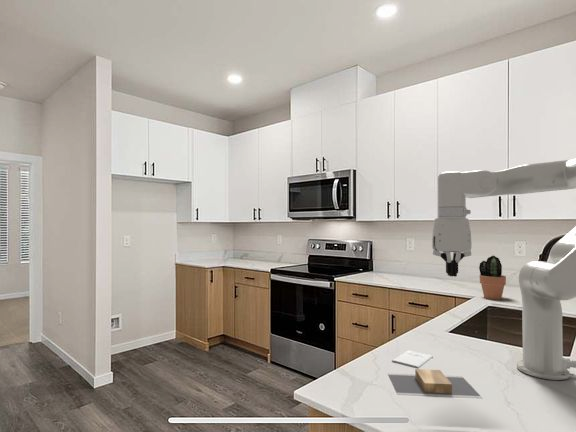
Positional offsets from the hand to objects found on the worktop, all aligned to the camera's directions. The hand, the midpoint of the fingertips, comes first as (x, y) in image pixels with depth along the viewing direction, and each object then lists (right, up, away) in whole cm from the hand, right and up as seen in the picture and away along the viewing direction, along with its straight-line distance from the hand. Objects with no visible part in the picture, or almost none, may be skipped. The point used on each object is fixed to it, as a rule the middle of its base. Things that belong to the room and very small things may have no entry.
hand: (452, 275), depth 109 cm
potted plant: (+71, -31, +107) cm, 132 cm away
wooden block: (-14, -25, -13) cm, 32 cm away
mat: (-11, -27, -13) cm, 32 cm away
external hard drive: (-10, -28, +5) cm, 30 cm away
